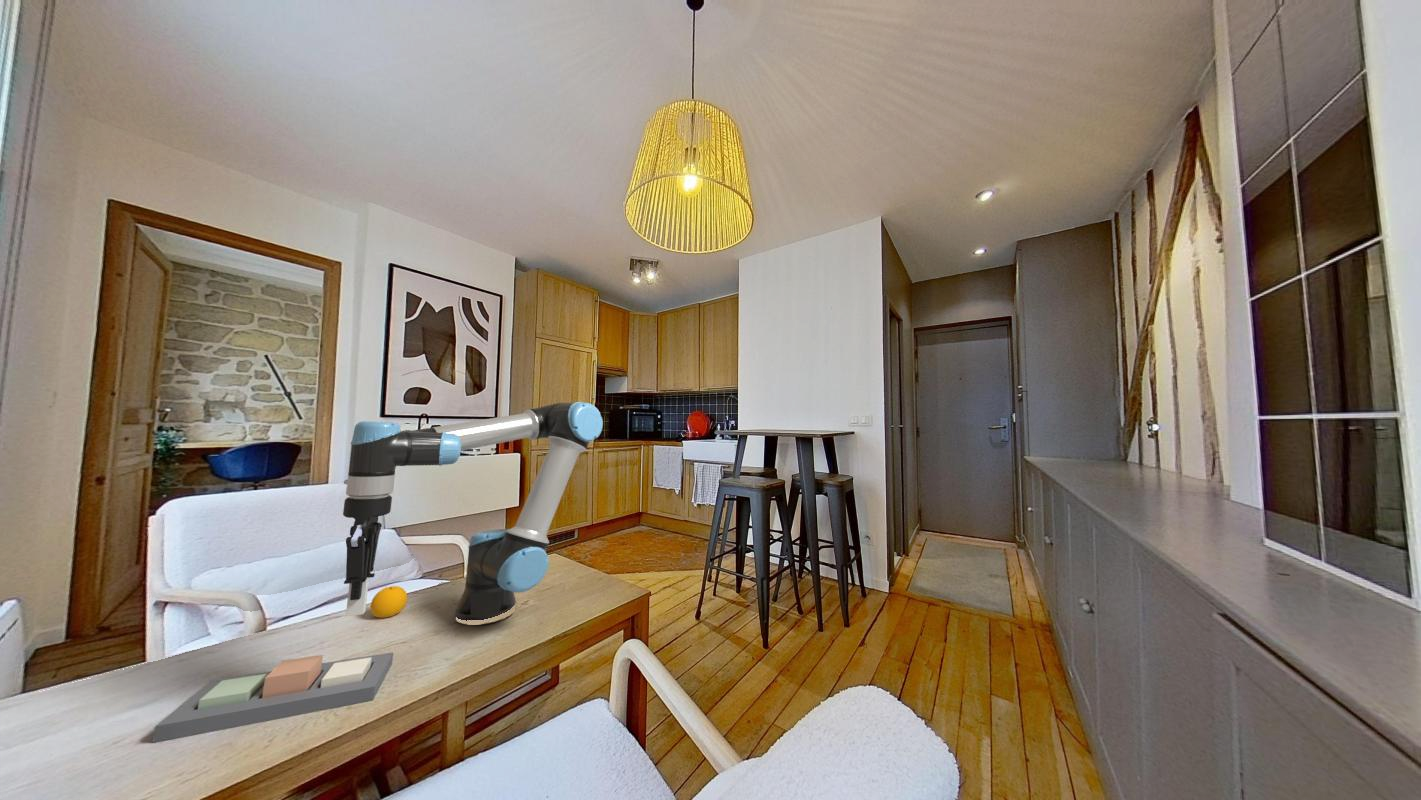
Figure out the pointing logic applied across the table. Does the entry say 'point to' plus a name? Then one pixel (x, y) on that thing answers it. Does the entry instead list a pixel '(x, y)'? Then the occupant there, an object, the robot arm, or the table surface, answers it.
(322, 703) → the keypad board
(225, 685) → the key
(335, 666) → the cream square block
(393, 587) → the yellow lemon
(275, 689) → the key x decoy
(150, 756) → the table surface
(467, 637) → the table surface
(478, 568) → the robot arm
